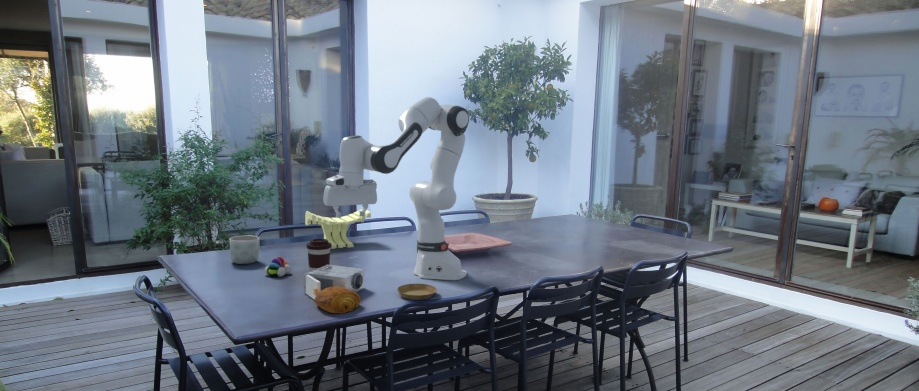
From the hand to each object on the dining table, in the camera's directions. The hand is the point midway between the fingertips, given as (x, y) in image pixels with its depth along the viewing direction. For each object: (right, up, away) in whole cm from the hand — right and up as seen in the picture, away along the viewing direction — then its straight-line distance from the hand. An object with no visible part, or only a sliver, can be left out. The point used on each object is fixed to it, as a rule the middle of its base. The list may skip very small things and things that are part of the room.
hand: (350, 216), depth 204 cm
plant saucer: (+25, -29, 0) cm, 38 cm away
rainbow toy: (-34, -25, +22) cm, 48 cm away
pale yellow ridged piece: (-23, -18, +83) cm, 87 cm away
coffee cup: (-17, -25, +22) cm, 38 cm away
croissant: (-1, -31, -16) cm, 35 cm away
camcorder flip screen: (-12, -28, -7) cm, 32 cm away
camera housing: (-6, -28, +2) cm, 28 cm away
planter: (-55, -22, +41) cm, 72 cm away
